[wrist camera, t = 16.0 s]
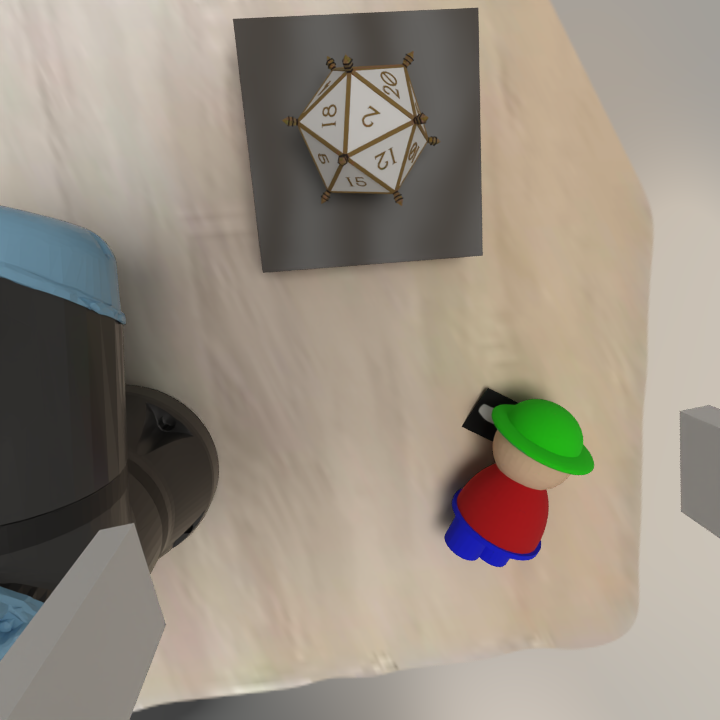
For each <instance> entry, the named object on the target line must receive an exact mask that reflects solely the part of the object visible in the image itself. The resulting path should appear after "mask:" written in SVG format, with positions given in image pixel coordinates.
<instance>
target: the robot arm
mask: <svg viewBox="0 0 720 720" xmlns="http://www.w3.org/2000/svg"><path fill="white" fill-rule="evenodd" d="M123 324H126V317H125V314H124V313H123V312H121V306H120V295H119V285H118V275H117V265H116V260H115V256H114V254H113V252H112V250H111V249H110V247H109V246H108V245H107V243H106V242H105V241H104V240H102V239H101V238H100V237H99V236H98V235H96V234H95V233H93V232H91V231H89V230H87V229H85V228H83V227H80V226H78V225H75V224H72V223H68V222H65V221H62V220H58V219H55V218H51V217H47V216H43V215H38V214H35V213H30V212H26V211H22V210H18V209H14V208H9V207H5V206H0V720H129V719H130V717H131V714H132V711H133V709H134V706H135V704H136V701H137V698H138V696H139V693H140V691H141V688H142V685H143V683H144V680H145V677H146V675H147V672H148V670H149V667H150V664H151V662H152V659H153V657H154V654H155V651H156V649H157V646H158V644H159V641H160V638H161V636H162V633H163V631H164V628H165V625H166V624H165V621H164V617H163V614H162V611H161V608H160V605H159V601H158V598H157V595H156V592H155V589H154V585H153V582H152V579H151V576H150V574H151V572H152V570H153V568H154V566H155V564H156V562H157V561H158V559H159V558H161V557H162V556H163V555H165V554H166V553H167V552H169V551H170V550H171V549H172V548H174V547H175V546H177V545H178V544H179V543H181V542H182V541H183V540H185V539H186V538H187V537H188V536H189V535H190V534H191V533H192V532H193V531H194V530H195V529H196V528H197V526H198V525H199V524H200V522H201V521H202V519H203V518H204V516H205V514H206V512H207V510H208V508H209V506H210V504H211V502H212V499H213V497H214V494H215V491H216V488H217V483H218V475H219V465H218V458H217V453H216V449H215V446H214V443H213V441H212V439H211V437H210V435H209V433H208V431H207V430H206V428H205V426H204V425H203V424H202V422H201V421H200V420H199V419H198V418H197V417H196V415H195V414H194V413H193V412H191V411H190V410H189V409H188V408H187V407H186V406H184V405H183V404H182V403H180V402H179V401H177V400H175V399H174V398H172V397H170V396H168V395H166V394H164V393H161V392H159V391H156V390H153V389H149V388H145V387H140V386H132V385H125V371H124V345H123ZM680 464H681V465H680V467H681V468H680V469H681V512H683V513H684V514H685V515H687V516H688V517H690V518H691V519H693V520H694V521H695V522H697V523H698V524H700V525H701V526H703V527H704V528H706V529H707V530H709V531H710V532H711V533H713V534H714V535H716V536H717V537H719V538H720V409H718V408H716V407H713V406H710V405H707V406H703V407H698V408H693V409H688V410H683V411H680Z"/></svg>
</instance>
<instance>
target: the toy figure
mask: <svg viewBox="0 0 720 720" xmlns="http://www.w3.org/2000/svg"><path fill="white" fill-rule="evenodd" d="M462 427H464V428H466V429H468V430H470V431H472V432H474V433H476V434H478V435H480V436H482V437H484V438H487V439H489V440H491V441H493V455H494V459H495V462H496V463H495V464H493V465H490V466H488V467H486V468H485V469H483V470H481V471H480V472H479V473H477V474H476V475H475V476H474V477H473V478H472V479H471V480H469V481H468V483H467V484H466V485H465V486H464V488H462V489H460V490H458V491H457V492H456V493H455V495H454V497H453V499H452V508H453V511H454V513H455V518H454V520H453V522H452V523H451V525H450V527H449V528H448V530H447V532H446V534H445V537H444V538H445V542H446V544H447V546H448V547H449V548H450V549H451V551H453V552H454V553H455V554H456V555H458V556H459V557H461V558H463V559H466V560H471V561H474V560H477V559H478V558H479V557H480V558H481V559H482V560H484V561H485V562H486V563H488V564H490V565H493V566H496V567H503V566H504V565H506V563H507V562H508V560H509V559H510V558H511V559H515V560H530V559H533V558H534V557H535V556H536V555H537V554H538V552H539V550H540V549H541V538H542V535H543V533H544V530H545V527H546V523H547V518H548V507H549V505H548V495H547V491H546V489H550V488H553V487H556V486H557V485H559V484H561V483H562V482H564V481H565V480H566V479H567V478H568V477H569V475H570V474H572V475H585V474H588V473H590V472H591V471H592V470H593V468H594V461H593V458H592V456H591V454H590V452H589V451H588V450H587V448H586V447H585V446H584V445H583V435H582V431H581V428H580V426H579V424H578V422H577V421H576V419H575V418H574V417H573V416H572V415H571V414H570V413H569V412H568V411H567V410H566V409H564V408H563V407H561V406H560V405H558V404H556V403H553V402H550V401H547V400H542V399H530V400H525V401H522V402H520V403H517V402H515V401H513V400H511V399H509V398H507V397H505V396H503V395H501V394H499V393H497V392H495V391H493V390H491V389H489V388H488V389H487V390H486V392H485V393H484V395H483V396H482V398H481V399H480V400H479V402H478V403H477V405H476V406H475V408H474V409H473V411H472V412H471V414H470V415H469V417H468V418H467V420H466V421H465V423H464V424H463V426H462Z"/></svg>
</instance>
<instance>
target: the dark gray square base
mask: <svg viewBox="0 0 720 720" xmlns="http://www.w3.org/2000/svg"><path fill="white" fill-rule="evenodd" d="M233 23H234V31H235V40H236V48H237V57H238V65H239V74H240V82H241V91H242V99H243V108H244V117H245V125H246V134H247V142H248V151H249V159H250V168H251V176H252V185H253V193H254V202H255V210H256V219H257V227H258V236H259V244H260V253H261V261H262V270H263V273H265V272H278V271H291V270H303V269H316V268H329V267H342V266H355V265H368V264H380V263H393V262H406V261H419V260H432V259H445V258H458V257H470V256H483V252H482V194H481V137H480V79H479V22H478V8H463V9H441V10H419V11H397V12H375V13H353V14H332V15H310V16H288V17H266V18H244V19H233ZM412 51H414V54H413V60H414V61H412V62H411V65H409V66H408V67H407V71H408V74H409V77H410V80H411V84H412V87H413V90H414V93H415V96H416V100H417V103H418V106H419V109H420V112H421V113H422V112H423V113H424V114H425V115H426V116H427V117H429V118H428V119H427V121H426V123H425V124H424V125H425V128H426V132H427V135H428V137H431V136H433V137H434V136H435V137H437V138H438V139H439V140H440V141H441V142H439V143H438V144H436V145H435V146H433V145H430V144H429V143H427V144H426V145H425V147H424V149H423V150H422V152H421V154H420V155H419V157H418V159H417V160H416V162H415V164H414V165H413V167H412V169H411V170H410V172H409V173H408V175H407V177H406V178H405V180H404V182H403V183H402V185H401V187H400V188H399V190H398V192H399V193H400V194H402V195H401V196H402V198H403V203H402V206H401V205H399V204H398V203H395V199H394V195H393V194H367V193H331V194H330V198H329V199H328V200H329V201H326V202H324V203H322V204H321V196H322V195H323V192H325V191H326V190H327V189H326V187H325V185H324V182H323V180H322V178H321V176H320V174H319V172H318V169H317V167H316V165H315V163H314V161H313V159H312V156H311V154H310V152H309V150H308V148H307V146H306V143H305V141H304V139H303V137H302V135H301V133H300V130H299V128H298V126H297V125H295V126H293V127H292V126H287V124H286V123H284V122H283V121H281V120H283V119H285V118H287V117H288V116H289V117H292V116H293V118H295V119H298V118H299V117H300V115H301V114H302V112H303V111H304V109H305V108H306V106H307V105H308V104H309V102H310V101H311V99H312V98H313V96H314V95H315V94H316V92H317V91H318V89H319V88H320V86H321V85H322V84H323V82H324V81H325V79H326V78H327V76H328V75H329V73H330V72H331V70H330V69H328V66H327V65H326V62H327V56H328V57H330V58H333V59H334V62H335V63H336V68H338V67H344V65H343V62H342V59H344V56H345V54H346V55H347V56H348V57H350V58H352V59H353V61H352V63H353V66H352V67H358V66H378V65H398V64H402V63H403V58H405V56H406V55H405V54H408V53H410V52H412Z"/></svg>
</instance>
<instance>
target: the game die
mask: <svg viewBox="0 0 720 720" xmlns="http://www.w3.org/2000/svg"><path fill="white" fill-rule="evenodd" d="M413 54H414V51H412V52H410V53H408V54H405V55H406V56H405V58H403V63H402V64H398V65H378V66H358V67H352V66H353V63H352V61H353V59H352V58H350V57H348V56H347V55H346V54H345V56H344V59H342V62H343V65H344V67H338V68H336V63H335V62H334V59H333V58H330V57H328V56H327V62H326V65H327V66H328V69H330V70H331V72H330V73H329V75H328V76H327V78H326V79H325V81H324V82H323V84H322V85H321V86H320V88H319V89H318V91H317V92H316V94H315V95H314V96H313V98H312V99H311V101H310V102H309V104H308V105H307V106H306V108H305V109H304V111H303V112H302V114H301V115H300V117H299V118H298V119H295V118H293V116H292V117H289V116H288V117H287V118H285V119H283V120H281V121H283V122H284V123H286V124H287V126H292V127H293V126H295V125H297V126H298V128H299V130H300V133H301V135H302V137H303V139H304V141H305V143H306V146H307V148H308V150H309V152H310V154H311V156H312V159H313V161H314V163H315V165H316V167H317V169H318V172H319V174H320V176H321V178H322V180H323V182H324V185H325V187H326V189H327V190H326V191H325V192H323V195H322V196H321V204H322V203H324V202H326V201H329V200H328V199H329V198H330V194H331V193H367V194H393V195H394V199H395V203H398V204H399V205H401V206H402V203H403V198H402V196H401V195H402V194H400V193H399V192H398V190H399V188H400V187H401V185H402V183H403V182H404V180H405V178H406V177H407V175H408V173H409V172H410V170H411V169H412V167H413V165H414V164H415V162H416V160H417V159H418V157H419V155H420V154H421V152H422V150H423V149H424V147H425V145H426V144H427V143H429V144H430V145H433V146H435V145H436V144H438V143H439V142H441V141H440V140H439V139H438V138H437V137H435V136H434V137H433V136H431V137H428V135H427V132H426V128H425V125H424V124H425V123H426V121H427V119H428V118H429V117H427V116H426V115H425V114H424V113H423V112H422V113H421V112H420V109H419V106H418V103H417V100H416V96H415V93H414V90H413V87H412V84H411V80H410V77H409V74H408V71H407V67H408V66H409V65H411V62H412V61H414V60H413Z"/></svg>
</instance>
